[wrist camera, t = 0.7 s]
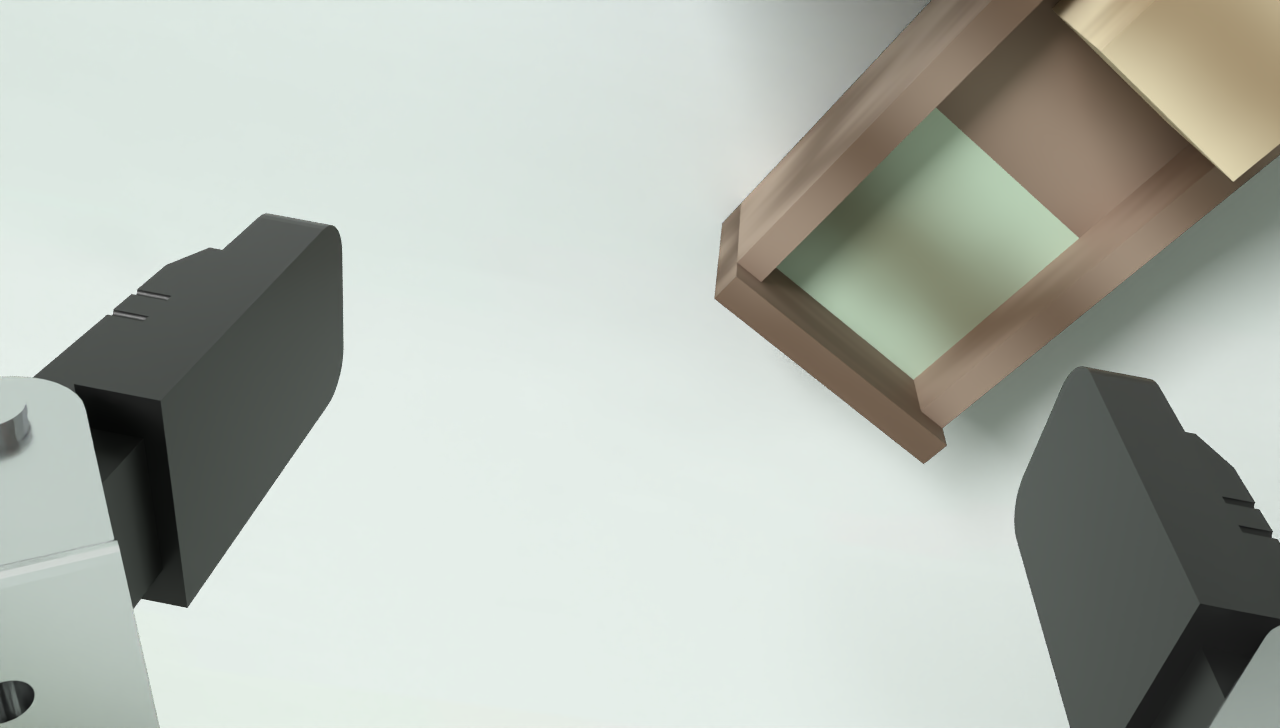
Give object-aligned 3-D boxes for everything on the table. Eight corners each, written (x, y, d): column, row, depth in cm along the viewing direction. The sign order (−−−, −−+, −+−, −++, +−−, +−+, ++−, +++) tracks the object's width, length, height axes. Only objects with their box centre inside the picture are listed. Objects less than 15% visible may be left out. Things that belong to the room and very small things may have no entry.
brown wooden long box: (1354, -451, 26) (1501, -506, 21) (1556, -194, 28) (1735, -185, 23) (722, 223, 36) (714, 298, 31) (903, 371, 39) (923, 464, 34)
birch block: (1206, -144, 27) (1289, -127, 22) (1324, -15, 28) (1425, 25, 24) (1051, 9, 29) (1100, 51, 25) (1167, 122, 30) (1232, 181, 26)
